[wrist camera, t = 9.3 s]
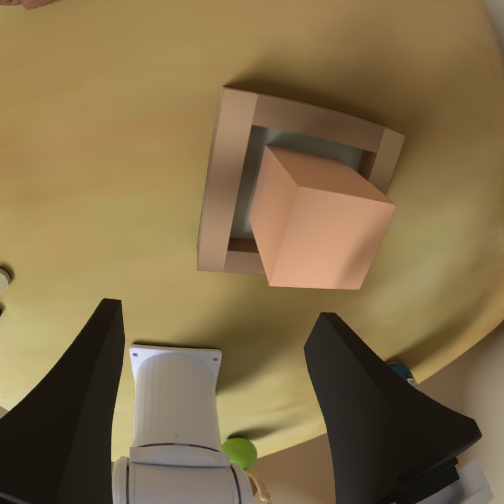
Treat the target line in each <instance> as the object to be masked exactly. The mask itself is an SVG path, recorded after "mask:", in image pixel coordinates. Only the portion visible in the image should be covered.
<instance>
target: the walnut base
mask: <svg viewBox="0 0 504 504" xmlns="http://www.w3.org/2000/svg"><path fill="white" fill-rule="evenodd" d="M404 139H405V135H403V134H401V133H398V132H396V131H394V130H392V129H389V128H387V127H385V126H382V125H380V124H377V123H374V122H371V121H368V120H365V119H362V118H359V117H355V116H352V115H349V114H346V113H342V112H339V111H335V110H332V109H328V108H325V107H321V106H317V105H313V104H309V103H305V102H301V101H297V100H293V99H288V98H284V97H279V96H274V95H270V94H264V93H259V92H254V91H248V90H242V89H236V88H230V87H223V86H222V89H221V94H220V99H219V105H218V110H217V115H216V121H215V127H214V133H213V139H212V145H211V151H210V157H209V163H208V170H207V176H206V183H205V190H204V197H203V204H202V211H201V219H200V227H199V235H198V243H197V270H198V271H212V272H226V273H241V274H257V275H266V273H265V269H264V266H263V263H262V260H261V256H260V253H259V250H258V247H257V244H256V240H255V237H254V234H253V231H252V227H251V224H250V221H249V217H250V212H251V207H252V203H253V198H254V194H255V189H256V185H257V180H258V176H259V171H260V167H261V162H262V158H263V153H264V149H265V145H270V146H276V147H282V148H287V149H292V150H297V151H302V152H307V153H312V154H317V155H321V156H326V157H330V158H335V159H339V160H341V161H343V162H344V163H345V164H347V165H348V166H349V167H351V168H352V169H353V170H354V171H356V172H357V173H358V174H360V175H361V176H362V177H363V178H365V179H366V180H367V181H368V182H370V183H371V184H372V185H373V186H374V187H376V188H377V189H378V190H379V191H380V192H382V193H383V194H384V195H386V192H387V189H388V186H389V184H390V181H391V178H392V175H393V172H394V169H395V167H396V164H397V161H398V158H399V155H400V152H401V149H402V145H403V142H404Z"/></svg>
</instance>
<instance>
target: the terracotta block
mask: <svg viewBox="0 0 504 504" xmlns="http://www.w3.org/2000/svg"><path fill="white" fill-rule="evenodd" d="M395 208H396V204H395V203H393V202H392V201H391V200H390V199H389V198H388V197H386V196H385V195H384V194H383V193H382V192H380V191H379V190H378V189H377V188H376V187H374V186H373V185H372V184H371V183H370V182H368V181H367V180H366V179H365V178H363V177H362V176H361V175H360V174H358V173H357V172H356V171H354V170H353V169H352V168H351V167H349V166H348V165H347V164H345V163H344V162H343V161H341V160H339V159H335V158H330V157H326V156H321V155H317V154H312V153H307V152H302V151H297V150H292V149H287V148H282V147H276V146H270V145H265V149H264V153H263V158H262V162H261V167H260V171H259V176H258V180H257V185H256V189H255V194H254V198H253V203H252V207H251V212H250V217H249V221H250V224H251V227H252V231H253V234H254V237H255V240H256V244H257V247H258V250H259V253H260V256H261V260H262V263H263V266H264V269H265V273H266V276H267V279H268V282H269V286H279V287H301V288H326V289H356V290H359V289H360V287H361V285H362V282H363V280H364V278H365V276H366V274H367V272H368V270H369V268H370V266H371V264H372V261H373V259H374V257H375V255H376V253H377V250H378V248H379V246H380V244H381V241H382V239H383V237H384V234H385V232H386V230H387V227H388V225H389V223H390V220H391V218H392V215H393V213H394V210H395Z"/></svg>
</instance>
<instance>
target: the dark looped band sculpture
mask: <svg viewBox="0 0 504 504" xmlns="http://www.w3.org/2000/svg"><path fill="white" fill-rule="evenodd" d="M54 1H56V0H0V5H19V4H22V5H23V7H25V8H26V10H30V9H34V8H37V7H41V6H44V5H47V4H49V3H52V2H54Z"/></svg>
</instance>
